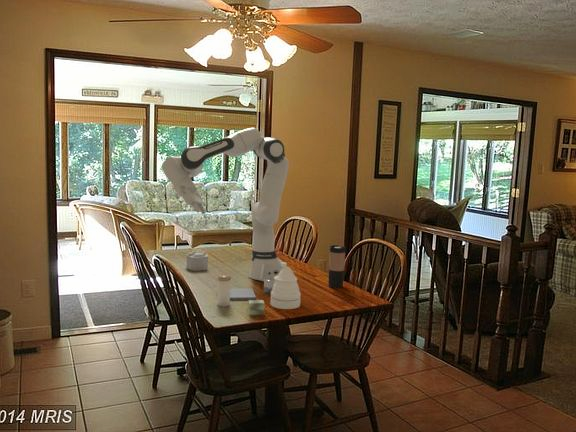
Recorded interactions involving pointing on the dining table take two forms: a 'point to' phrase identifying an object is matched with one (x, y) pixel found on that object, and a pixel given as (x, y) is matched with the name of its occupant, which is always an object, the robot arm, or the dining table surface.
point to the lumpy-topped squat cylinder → (197, 261)
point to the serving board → (242, 294)
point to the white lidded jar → (224, 290)
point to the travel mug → (336, 266)
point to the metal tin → (268, 285)
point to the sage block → (256, 307)
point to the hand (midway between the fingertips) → (201, 212)
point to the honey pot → (285, 290)
